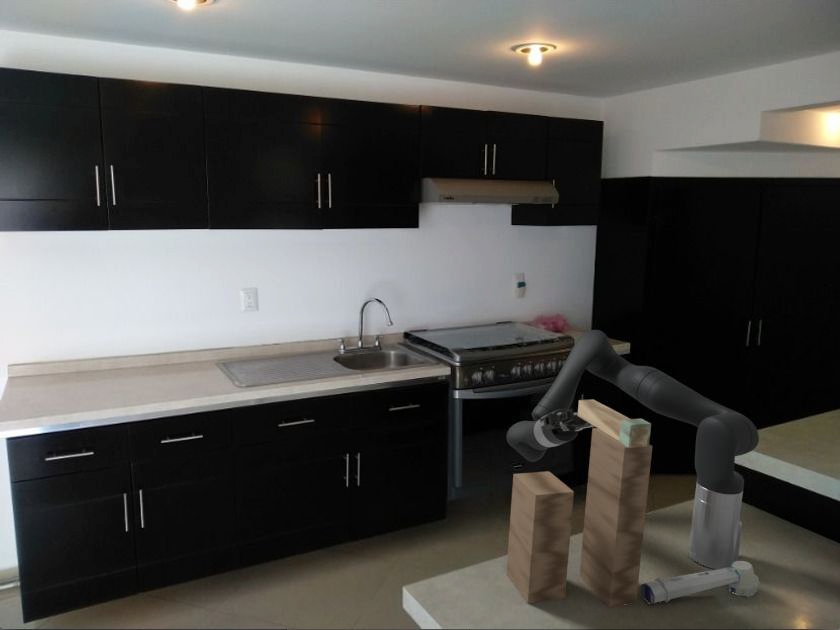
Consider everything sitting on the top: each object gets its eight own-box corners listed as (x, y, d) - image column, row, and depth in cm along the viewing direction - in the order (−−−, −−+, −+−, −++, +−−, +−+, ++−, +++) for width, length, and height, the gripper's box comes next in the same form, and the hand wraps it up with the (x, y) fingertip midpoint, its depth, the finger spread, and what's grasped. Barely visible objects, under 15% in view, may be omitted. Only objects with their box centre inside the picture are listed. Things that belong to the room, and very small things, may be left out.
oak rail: (593, 415, 135) (595, 395, 134) (648, 446, 117) (651, 423, 116) (575, 416, 134) (577, 396, 133) (628, 447, 115) (630, 424, 115)
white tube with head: (638, 576, 124) (746, 550, 130) (639, 606, 126) (746, 579, 131) (653, 591, 119) (765, 564, 125) (654, 623, 121) (765, 594, 126)
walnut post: (604, 572, 132) (618, 427, 127) (636, 603, 122) (652, 446, 117) (579, 575, 130) (592, 428, 126) (609, 607, 120) (624, 447, 115)
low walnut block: (541, 570, 132) (549, 471, 129) (564, 598, 122) (573, 491, 119) (506, 574, 130) (513, 474, 126) (527, 603, 120) (535, 495, 117)
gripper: (525, 414, 146) (557, 397, 131) (579, 411, 150) (616, 394, 135) (530, 446, 143) (563, 432, 129) (585, 443, 147) (623, 429, 133)
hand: (590, 413), depth 132 cm, fingers open, 8 cm apart
